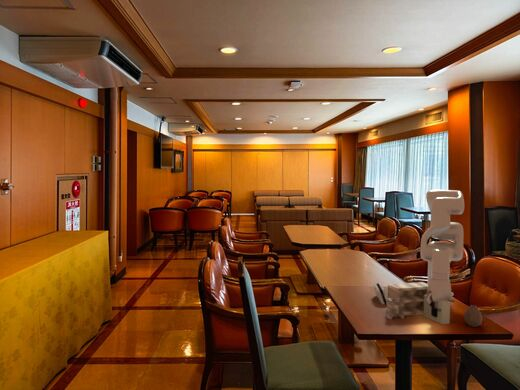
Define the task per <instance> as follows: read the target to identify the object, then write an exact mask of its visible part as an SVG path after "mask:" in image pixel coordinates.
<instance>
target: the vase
mask: <svg viewBox="0 0 520 390" xmlns="http://www.w3.org/2000/svg"><path fill="white" fill-rule="evenodd" d="M463 316H464V321H465V323H466V325H468V326H470V327H474V328H477V327H480V326H481V324H482V321H483V315H482V312H481V311H480V310H479V308H478V306H477V305H475V304H470V306H469V307H468V308H466V310H465V311H464V315H463Z"/></svg>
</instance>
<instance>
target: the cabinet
mask: <svg viewBox="0 0 520 390" xmlns="http://www.w3.org/2000/svg"><path fill="white" fill-rule="evenodd" d="M427 287H428V284H427V283H426V282H423V281H418V282H403V283H389V284H387V299H386V303H385V305H386V306H387V307H386V309H385V318H387V319H389V320H393V318H397V316H399V318H401V319H404V318H405V316H413V315H415V316H416V315H423V313H424V295H426V294H427Z"/></svg>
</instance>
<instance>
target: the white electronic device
mask: <svg viewBox="0 0 520 390" xmlns="http://www.w3.org/2000/svg"><path fill="white" fill-rule="evenodd" d="M372 287H373V289H374V290H375V295H376V297H377V298H379V299H378V300H379V302H380V304H381V303H382V304H384V305H386V299H387V297H388V294H387V293H386V290H385V288H384V286H383V284H382V283H381V282H377V283H374V284H373V286H372ZM382 304H381V305H382Z"/></svg>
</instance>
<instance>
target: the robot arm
mask: <svg viewBox="0 0 520 390" xmlns="http://www.w3.org/2000/svg"><path fill="white" fill-rule="evenodd" d="M425 197H426V198H425V200H426V203H427V206H428V209H429V211H430V227H429V228H427V229H426V230H425V231H424V233H423V234H422V236H421V239H420V249H419V250H420V258H421V259H422V260H423V261H426V262H427V283H426V284H428V287H427V299H426V302H427V303H428V304H429V305H430V307H431V315H432V316H434V317H437V313H438V309H437V303H438V302H439V301H441V300H447V301H450V303H451V302H452V301H453V296H454V292H452V286H451V285H452V284H451V279H450V277H451V273H450V265H451V262H452V261H453V262H459V261H461V260H463V257H464V236H465V235H464V227H463V226H464V225H462V224H461V223H460V222H455V221H454V222H453V221H451V215H457V216H458V215H462V214H463V213H464V211H465V199H464V193H463V192H462V191H461V190H455V189H454V190H453V189H448V190H447V189H431V190H428V191H427V192H426V195H425ZM430 238H433V239H437V240H449V241H453V242H447V241H430V242H428V240H429V239H430ZM430 300H431V301H430Z"/></svg>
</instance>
